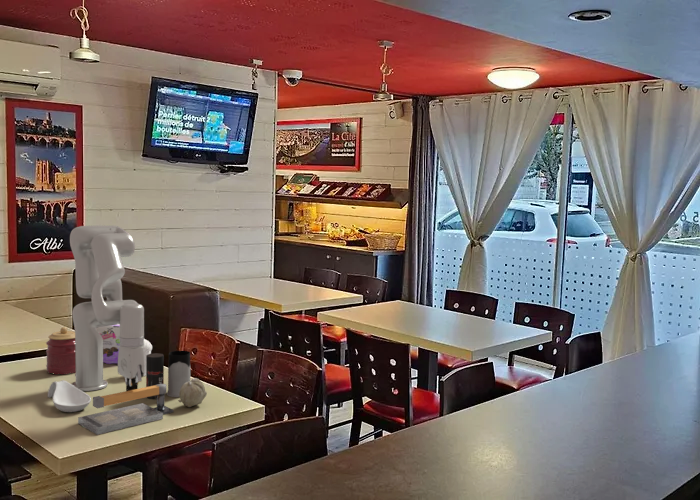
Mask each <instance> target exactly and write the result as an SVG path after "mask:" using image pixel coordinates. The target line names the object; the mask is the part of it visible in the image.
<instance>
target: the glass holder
mask: <svg viewBox="0 0 700 500" xmlns="http://www.w3.org/2000/svg"><path fill="white" fill-rule="evenodd" d="M167 373H168V374H167V377H168V378H167V391H166V396H168V397H171V398H180V396H179V392H180V389H181V387H182V385H183V384H184V383H186V382H189V381H191V352H190V351H187V350H173V351H169V353H168V368H167Z"/></svg>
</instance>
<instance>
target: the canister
mask: <svg viewBox="0 0 700 500" xmlns="http://www.w3.org/2000/svg"><path fill="white" fill-rule="evenodd" d="M45 344H46V345H47V349H46V351H45V352H46V372H47V373H48V372H49V373H48V374H50V373H54V374H53V375H58V374H61V375H70V374H69V373H71V374H76V352H75V331H72V330H68V329H67V327H66V326H64V327H63V326H62V327H61V328H60V329H59V331H56V332H55V331H54V332H52V333H51V334H50V335H48V340H47V341H46V342H45Z"/></svg>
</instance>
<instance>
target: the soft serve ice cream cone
mask: <svg viewBox="0 0 700 500" xmlns="http://www.w3.org/2000/svg"><path fill="white" fill-rule="evenodd" d="M143 350H144V363H145V372H144V376H143V377H146V355H148V354H152V350H153V345H152V344H151V342H150V341H149V340H147V339H145V338H144V346H143Z"/></svg>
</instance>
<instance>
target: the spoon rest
mask: <svg viewBox="0 0 700 500" xmlns="http://www.w3.org/2000/svg"><path fill="white" fill-rule="evenodd" d="M47 398H52V402H53V405H54V407H55V408H56V409H57V410H59V411H61V412H64V413H74V412H80V411H82V410H83V409H85V408H87V407H88V406H89V405H90V403H91V402H92V398H91V396H90V395H89V394H87V393H86V391H81V390H80V389H78V388H76V387H75V386H73V385H72V383H70V382H69V381H67V380H64V379H63V380H60V381H56V380H55V381H53V382H51V384H50V386H49V389H48V391H47Z"/></svg>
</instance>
